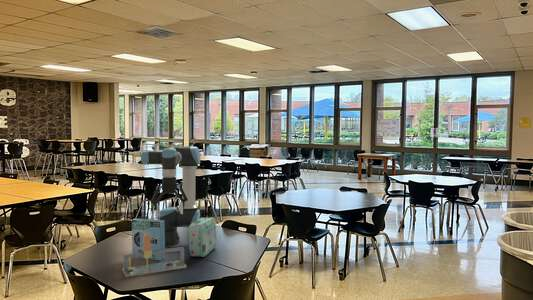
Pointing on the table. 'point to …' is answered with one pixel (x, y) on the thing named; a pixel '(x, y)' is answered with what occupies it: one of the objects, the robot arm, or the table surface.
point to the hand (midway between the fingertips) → (169, 214)
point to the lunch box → (202, 237)
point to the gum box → (156, 236)
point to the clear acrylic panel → (126, 256)
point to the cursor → (147, 248)
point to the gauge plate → (154, 268)
